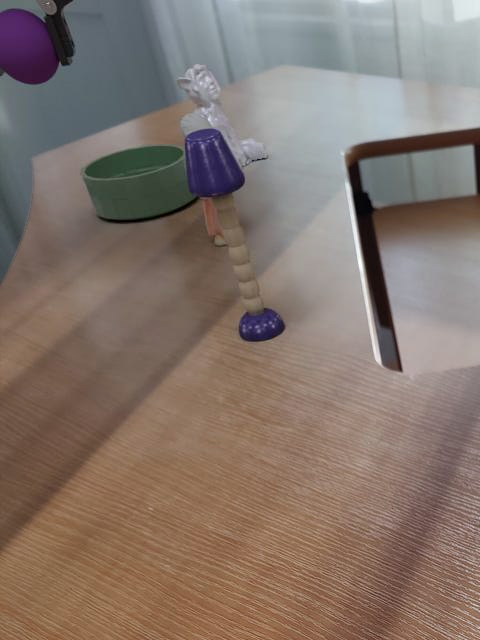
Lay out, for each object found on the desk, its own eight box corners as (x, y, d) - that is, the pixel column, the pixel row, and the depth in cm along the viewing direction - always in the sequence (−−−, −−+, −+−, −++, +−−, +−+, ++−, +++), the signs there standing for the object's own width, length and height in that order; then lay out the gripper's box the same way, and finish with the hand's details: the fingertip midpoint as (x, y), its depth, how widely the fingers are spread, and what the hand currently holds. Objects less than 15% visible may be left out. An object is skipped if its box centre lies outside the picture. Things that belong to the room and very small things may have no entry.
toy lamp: (288, 337, 80) (234, 134, 68) (237, 348, 79) (174, 146, 67) (281, 316, 83) (229, 119, 71) (233, 327, 82) (172, 130, 70)
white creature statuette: (236, 179, 114) (207, 74, 106) (181, 179, 117) (149, 75, 109) (271, 156, 121) (246, 54, 112) (218, 156, 123) (189, 56, 115)
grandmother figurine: (214, 230, 102) (177, 106, 93) (247, 225, 102) (213, 101, 93) (207, 255, 96) (166, 126, 87) (241, 250, 96) (204, 121, 87)
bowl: (91, 231, 106) (73, 187, 102) (102, 196, 115) (86, 155, 112) (199, 212, 107) (186, 167, 103) (201, 179, 116) (189, 138, 113)
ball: (1, 95, 77) (-31, 19, 73) (13, 81, 81) (-17, 8, 77) (65, 85, 77) (37, 9, 74) (74, 72, 81) (47, -1, 77)
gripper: (35, -201, 70) (117, 49, 82) (-149, -176, 69) (-39, 73, 81) (18, -201, 64) (109, 66, 76) (-182, -174, 63) (-59, 92, 75)
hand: (32, 68), depth 78 cm, fingers closed on ball, 5 cm apart
